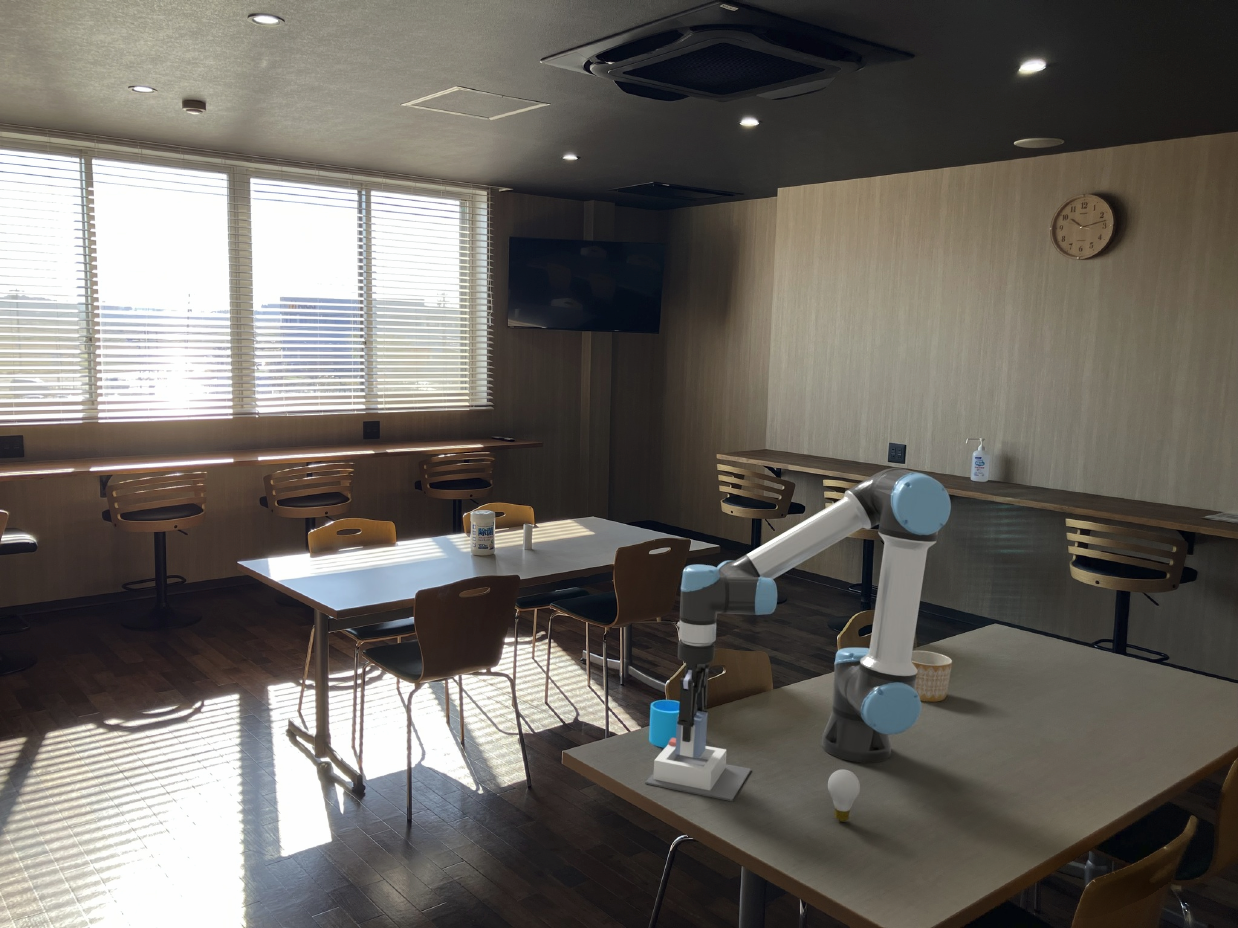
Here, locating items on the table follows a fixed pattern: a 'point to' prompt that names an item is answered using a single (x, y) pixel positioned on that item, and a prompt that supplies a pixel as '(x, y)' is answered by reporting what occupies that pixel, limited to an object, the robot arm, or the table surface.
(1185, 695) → the table surface
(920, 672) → the planter
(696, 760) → the socket
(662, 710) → the mug
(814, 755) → the table surface
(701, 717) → the plug
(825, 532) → the robot arm
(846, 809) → the light bulb
